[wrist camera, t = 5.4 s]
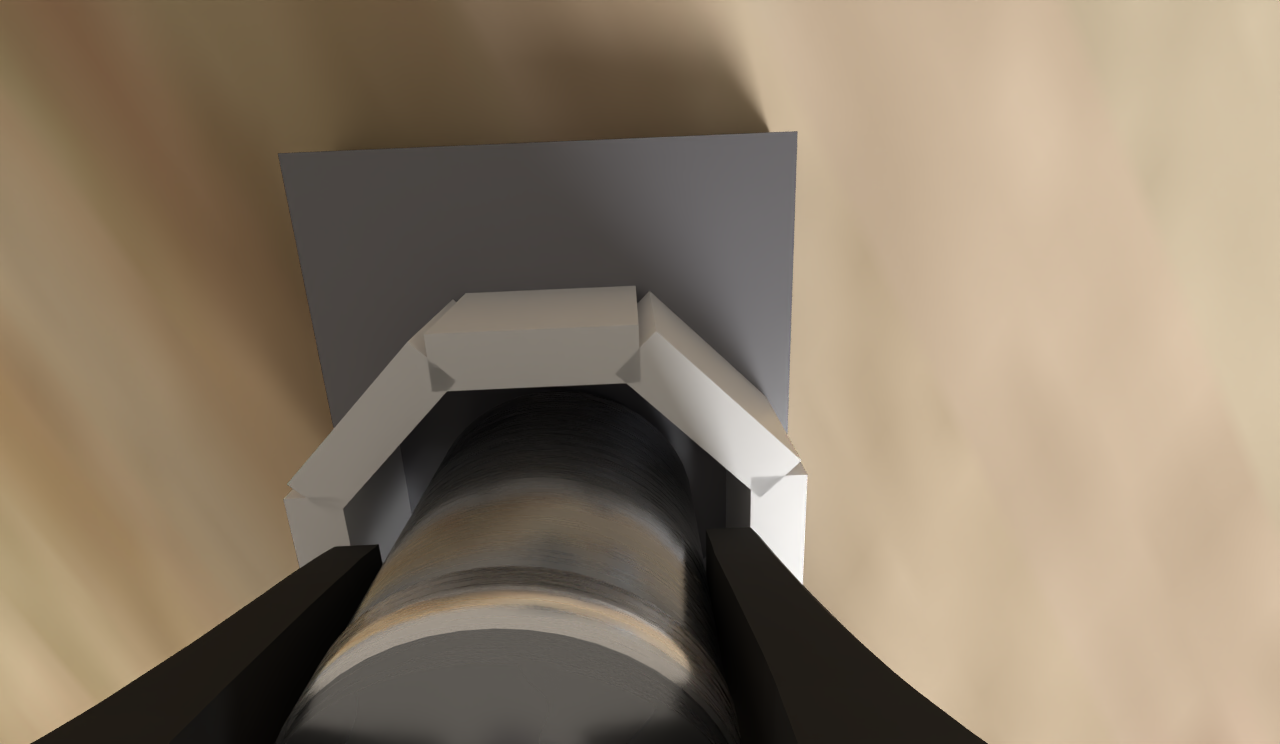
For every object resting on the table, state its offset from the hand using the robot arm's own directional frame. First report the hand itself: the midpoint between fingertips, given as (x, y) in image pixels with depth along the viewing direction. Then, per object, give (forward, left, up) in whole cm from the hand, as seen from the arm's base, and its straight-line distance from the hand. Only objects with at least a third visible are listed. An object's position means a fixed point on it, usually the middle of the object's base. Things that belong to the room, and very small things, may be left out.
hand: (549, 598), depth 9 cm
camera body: (0, 0, -5) cm, 5 cm away
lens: (0, 0, -2) cm, 2 cm away
